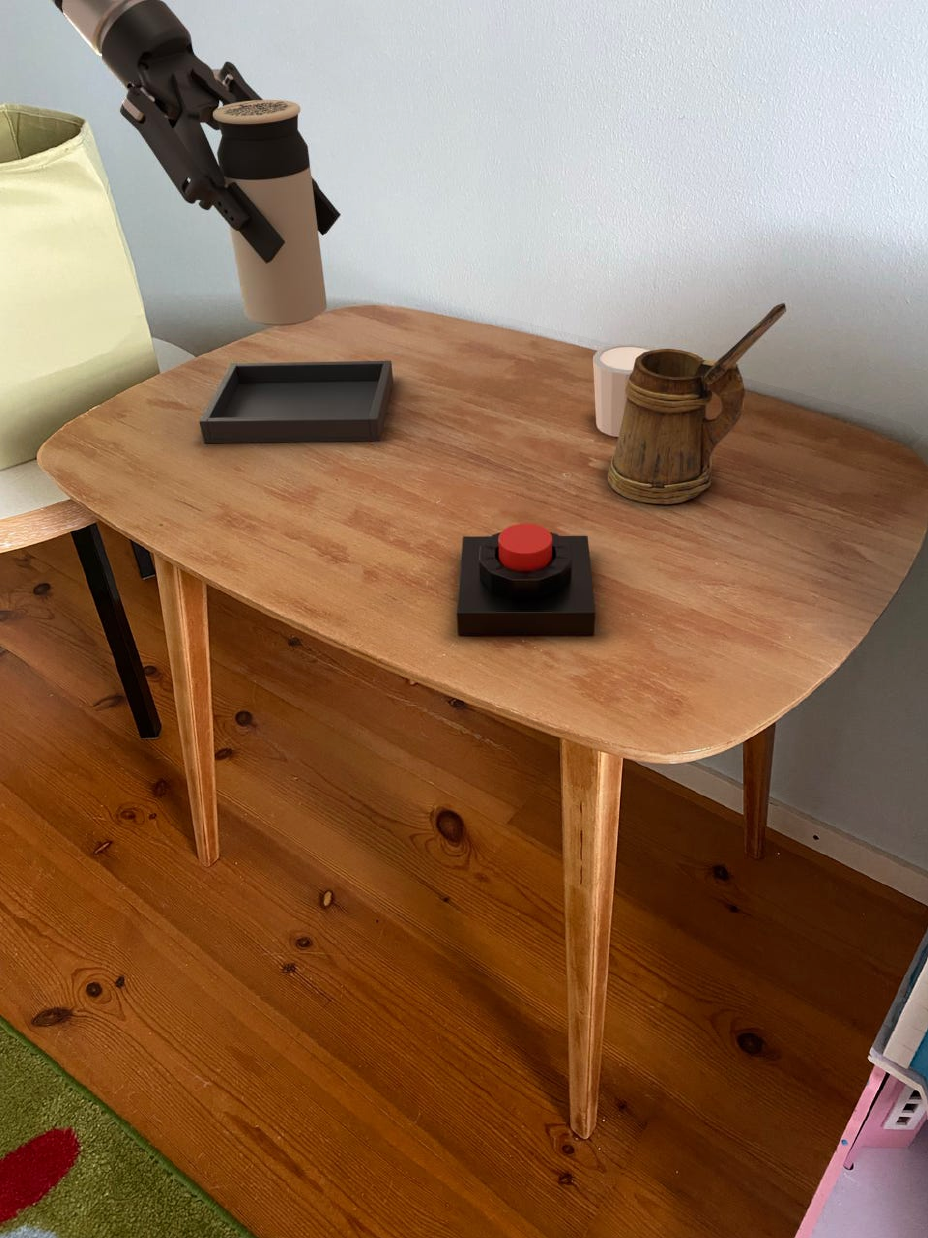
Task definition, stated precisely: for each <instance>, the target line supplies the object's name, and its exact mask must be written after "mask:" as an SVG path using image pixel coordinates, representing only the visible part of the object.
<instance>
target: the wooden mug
mask: <svg viewBox="0 0 928 1238" xmlns="http://www.w3.org/2000/svg"><path fill="white" fill-rule="evenodd" d="M786 312H787V307H786V303H785V302H782V303H780V304H777V305H775V306H773V307H772V309H770V311H769V312H768V313H767V314H766V315H765V316H764V317H763V318H762V319H761V320H760V322H758V323H757V324H756V325H755V326H753V327H752V328H751V329H750V330H749V331H748V332H746V334H745V335H743V337H741V339H740V340H739V341H737V343H735V344H734V345H733V346H732V347H731V348H730V349H729V350H728V351H727V352H725V354H723V355H722V356H721V357H720V358H719V359H718V360H710V359H709V360H708V359H704V358H703V357H701V356H700V355H698V354H695V353H693V352H690V351H687V350H681V349H675V348H659V349H656V350H652V351H648V352H644V353H642V354H641V355H639V356H638V357H637V358H636V360H635V364H634V368H633V372H632V373H631V374H630V377H629V380H628V382H627V385H626V388H625V393H626V396H627V400H626V405H625V410H624V415H623V419H622V424H621V428H620V433H619V437H617V441H616V446H615V450H614V454H613V455H612V457H611V459H610V463H609V468H608V472H607V482H608V483H609V485H610V487H611V488H612V489H613V490H614V491H615V492H616V493H617V494H618V495H621V496H622V497H624V498H627V499H629V500H632V501H636V502H640V503H646V504H647V503H648V504H655V505H656V504H657V505H672V504H678V503H683V502H686V501H689V500H691V499H694V498H696V497H698V496H700V494H702V493H703V492H704V491H705V490H706V489H708V488H709V487H710V485H712V473H713V462H712V461H713V460H712V457H711V455H712V453H713V451H714V450H715V449H716V447H717V446H718V444H719V443H720V442H721V441H722V440H723V439H724V438H725V437H726V436H727V435H728V434H729V433H730V432H731V430H732V429H733V428H734V427H735V426H736V424H737V423H738V421H739V420H740V419H741V415H742V412H743V410H744V407H745V395H746V390H745V385H744V381H743V376H742V373H741V371H740V368H739V364H738V363H737V362H739V360H740V359H741V358H742V357H743V356H744V355H745V354H746V353H747V352H748V351H749V349H751V348H752V347H753V345H755V344H756V342H758V340H759V339H760V338H761V337H762V336H764V334H765V333H766V332H767V331H769V329H771V327H772V326H773V325H775V323H777V322H778V321H779V319H781V317H782V316H783V315H784V314H785V313H786ZM713 393H714V394H715V395H717V396H718V397H719V398H720V401H721V405H722V406H721V411H720V413H719V414H718V415H717V416H716V417H714V418H710V419H709V418H707V405H708V404H710V403H711V402H712V399H713Z"/></svg>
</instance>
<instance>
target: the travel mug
mask: <svg viewBox="0 0 928 1238" xmlns="http://www.w3.org/2000/svg"><path fill="white" fill-rule="evenodd" d="M300 113H301V106H300V105H299V103H297V102H293V101H289V100H282V99H263V100H254V101H245V102H238V103H233V104H228V105H225V106H223V105H222V106H220V107H218V108H217V109H216V110H215V111H214V112H213V117H214V118H215V119H216V120H217V122H218V124H219V128H220V130H219V131H220V135H221V137H220V141H219V144H218V148H217V152H216V156H217V163H218V165H219V167H220V170H221V172H222V174H223V176H224V179H225V181H226V184H225V187H226V188H227V187H228V185H229V184H230V183H232V182H236V183H237V185H238V186H239V187H240V188H241V189H242V190H243V192H244V193H245V194H246V195H247V196H248V198H249V199H250V200H251V201H252V202H253V204H254V205H255V206H256V207H257V208H258V210H259V211H260V212H261V213H262V214H263V216H264V217H265V218H266V219H267V221H268V222H269V223H270V224H271V225H272V227H273V228H274V229H275V230H276V231H277V233H278V234H279V235H280V236H281V237H282V239H283V240H284V241H285V243H284V245H283V246H282V247H281V249H280V250H279V251H278V253H277V254H276V256H275V257H274V258H273V260H272V261H271V262H269V263H267V264H266V263H265V262H264V261H263V259H262V258H261V257H260V256H259V255H258V253H257V252H256V251H255V250H254V249H253V247H252V246H251V245H250V244H249V243H248V241H247V240H246V239H245V238H244V237H243V236H242V234H241V233H240V232H239V231H236V230H234V229H233V228H232V227H231V226H230V225H229V224H228V225H229V231H230V236H231V243H232V249H233V252H234V253H233V254H234V260H235V265H236V271H237V278H238V283H239V289H240V294H241V301H242V304H243V311H244V316H245V317H246V318H247V319H249V320H250V321H253V322H255V323H258V324H261V325H266V326H276V327H285V326H294V325H298V324H302V323H307V322H309V321H311V320H313V319H315V318H317V317H318V316H320V315H322V314H323V313H324V312H325V311H326V310H327V308H328V303H327V294H326V287H325V278H324V269H323V262H322V253H321V245H320V236H319V231H318V227H317V219H316V211H315V202H314V194H313V186H312V178H313V176H312V169H311V162H310V153H309V146H308V144H307V143H306V141H305V139H304V138H303V136H302V134H301V132H300V131H299V129H298V128H299V114H300ZM311 176H312V177H311Z"/></svg>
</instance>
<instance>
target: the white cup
mask: <svg viewBox="0 0 928 1238" xmlns="http://www.w3.org/2000/svg"><path fill="white" fill-rule="evenodd" d="M652 350H657V349H656V348H653V347H650V346H647V345H641V344H635V343H634V344H633V343H629V344H628V343H627V344H615V345H609V346H605V347H604V348H602V349H599V350H597V351H596V352H595V354H594V355H593V356H592V364H593V365H592V367H593V384H594V385H593V387H594V402H595V403H594V407H595V423H596V428H597V429H598V430H599V431H600V432H601V433H603V434H605V435H608V436H610V437H616V438H618V437H619V433H620V428H621V424H622V419H623V415H624V410H625V405H626V400H627V396H626V393H625V388H626V385H627V382H628V380H629V377H630V374H631V373H632V372H633V368H634V364H635V360H636V358H637V357H638V356H639V355H641V354H642V353H644V352H648V351H652Z"/></svg>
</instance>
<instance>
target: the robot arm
mask: <svg viewBox="0 0 928 1238" xmlns="http://www.w3.org/2000/svg"><path fill="white" fill-rule="evenodd" d="M50 1H51V2H52V3H53V4H54V6H55V7H56V8H57V9H58V10H59V11H60V12H61V14H62V15H63V16H64V18H65V19H67V20H68V21H69V23H70V24H71V25H72V26H73V27H74V29H76V31H77V32H78V33H79V35H81V37H82V38H83V39H84V41H85V42H86V43H87V44H88V45H89V46H90V48H91V49H92V50H93V51H94V52H95V53H96V55H98V56H100V57H101V60H102V62H103V64H104V65H105V67H106V68H107V69H108V70H109V72H110V73H111V74H112V75H113V76H114V78H115V79H116V80H117V81H118V82H119V84H120V85H121V86H122V87H123V88H124V89H125V90H126V95H125V97H124V99H123V101H122V103H121V106H120V107H119V113H120V115H121V116H122V117H123V118H124V119H126V120H127V121H128V123H129V124H130V125H132V126H133V128H134V129H136V130H137V131H138V133H139V134H140V136H141V137H142V138H143V140H144V141H145V144H146V145H147V146H148V147H149V149H150V151H151V152H152V154H153V155H154V156H155V158H156V159H157V161H158V163H159V164H160V165H161V167H162V168H163V170H164V171H165V173H166V175H167V176H168V178H169V179H170V180H171V182H172V183H173V185H174V186H175V189H177V191H178V192H179V194H180V196H181V197H182V199H183V200H184V201H185V202H186V203H188V204H190V205H194V204H195V203H196V202H197V201H199V202H198V205H199V207H200V208H201V209H203V210H204V211H210V210H211V208H212V207H214V209H215V210H216V211H217V212H218V213H219V214H220V216H221V217H222V218H223V219H224V220H225V222H226V224H228V225H230V226H231V227H232V228H233V229H234V230H236V231H239V232H240V233H241V234H242V236H243V237H244V238H245V239H246V240H247V241H248V243H249V244H250V245H251V246H252V247H253V249H254V250H255V251H256V252H257V253H258V255H259V256H260V257H261V258H262V259H263V261H264V262H265V263H266V264H267V263H269V262H271V261H272V260H273V258H274V257H275V256H276V254H277V253H278V251H279V250H280V249H281V247H282V246H283V245H284V243H285V241H284V240H283V239H282V237H281V236H280V235H279V234H278V233H277V231H276V230H275V229H274V228H273V227H272V225H271V224H270V223H269V222H268V221H267V219H266V218H265V217H264V216H263V214H262V213H261V212H260V211H259V210H258V208H257V207H256V206H255V205H254V204H253V202H252V201H251V200H250V199H249V198H248V196H247V195H246V194H245V193H244V192H243V190H242V189H241V188H240V187H239V186H238V185H237V183H236V182H232V183H230V184H229V185H228V187H227V188H226V187H225V184H226V181H225V179H224V176H223V174H222V172H221V170H220V167H219V163H218V159H216V156H215V154H214V151H213V149H212V146H211V144H210V142H209V140H208V137H207V135H206V133H205V130H204V129H203V126H202V124H206V125H207V126H208V127H209V128H211V129H212V130H214V131H220V128H219V124H218V122H217V120H216V119H215V118H214V117H213V112H214V111H215V110H216V109H217V108H219V106H220V103H221V104H222V106H225V105H228V104H233V103H238V102H245V101H254V100H264V99H263V98H262V97H261V96H260V95H259V94H258V93H257V92H256V91H255V90H254V89H253V88H252V87H251V86H250V85H249V84H248V83H247V81H246V80H245V79H244V77H243V75H242V74H241V72H240V71H239V70H238V68H237V66H236V65H235V64H234V63H232V62H230V61H225V62H224V63H223V66H222V67H221V68H216V69H212V68H211V67H210V65H208V63H206V62H204V61H203V60H201V59H200V58H199V57H198V56H197V55H196V53H195V52H194V47H193V41H192V35H191V34H190V32H189V31H190V30H188V29H187V27H186V26H185V25H184V24H183V23H182V22H181V20H180V19H179V18H178V16H177V15H176V14H175V13H174V12H173V10H172V9H171V8H170V7H169V6H168V4H167V3H166V2H165V1H163V0H50ZM311 177H312V186H313V194H314V202H315V211H316V219H317V227H318V233H319V234H320V235H321V236H324V235H326V234H328V232H329V231H330V230H331V229H332V227H333V226H334V225H335V224H336V222H337V221H338V219H340V217H341V215H342V214H341V213H340V211H338V209H337V208H336V206H335V205H334V204H333V203H332V202H331V200H330V199H328V197H327V196H326V194H325V193H324V192H323V191H322V189H320V186H319V184H318V182H317V181H316V180H315V178H314V177H313V176H312V175H311ZM188 179H189V180H188ZM230 226H229V227H230Z"/></svg>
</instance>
